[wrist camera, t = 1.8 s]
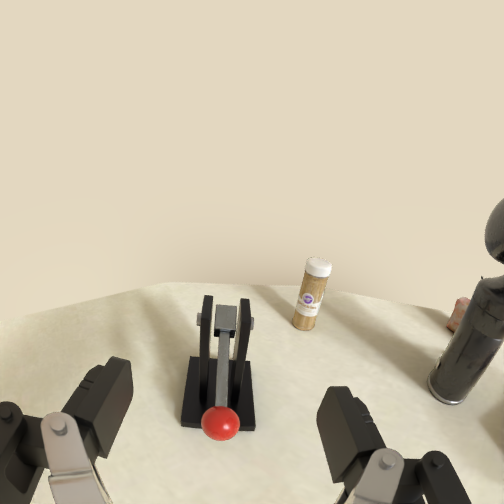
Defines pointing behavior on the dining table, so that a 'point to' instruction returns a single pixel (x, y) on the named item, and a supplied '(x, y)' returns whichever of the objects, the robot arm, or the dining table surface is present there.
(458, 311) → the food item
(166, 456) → the dining table surface
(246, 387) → the bracket
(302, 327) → the sprinkles bottle
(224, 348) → the lever
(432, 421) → the dining table surface
